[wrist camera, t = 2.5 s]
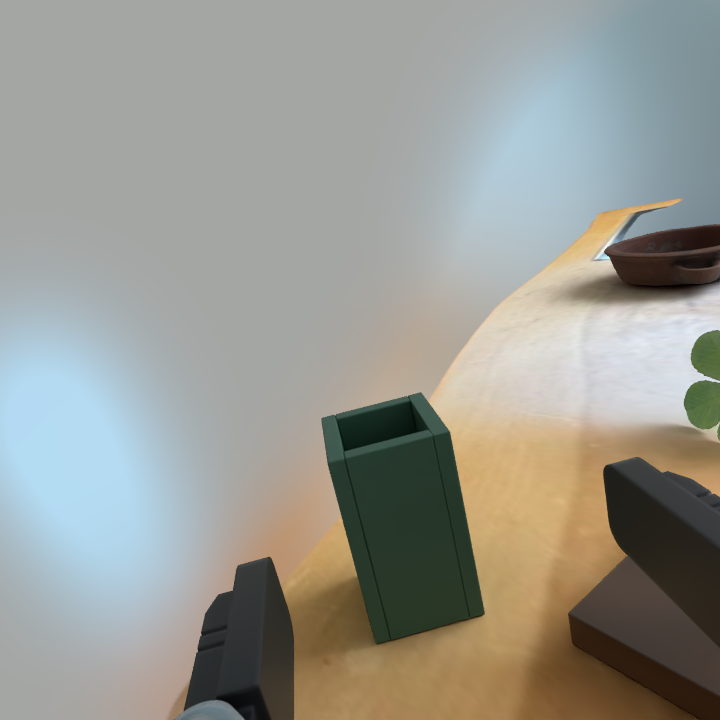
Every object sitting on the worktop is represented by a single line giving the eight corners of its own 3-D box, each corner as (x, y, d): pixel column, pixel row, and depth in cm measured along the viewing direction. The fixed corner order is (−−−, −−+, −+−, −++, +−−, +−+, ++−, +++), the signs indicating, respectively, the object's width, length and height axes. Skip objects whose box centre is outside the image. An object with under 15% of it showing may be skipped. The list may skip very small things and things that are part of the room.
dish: (616, 306, 64) (612, 264, 63) (600, 271, 84) (597, 238, 82) (796, 282, 58) (796, 235, 56) (734, 250, 77) (732, 215, 76)
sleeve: (485, 614, 24) (450, 430, 21) (375, 645, 24) (327, 463, 21) (452, 547, 29) (421, 391, 26) (361, 572, 28) (320, 417, 26)
